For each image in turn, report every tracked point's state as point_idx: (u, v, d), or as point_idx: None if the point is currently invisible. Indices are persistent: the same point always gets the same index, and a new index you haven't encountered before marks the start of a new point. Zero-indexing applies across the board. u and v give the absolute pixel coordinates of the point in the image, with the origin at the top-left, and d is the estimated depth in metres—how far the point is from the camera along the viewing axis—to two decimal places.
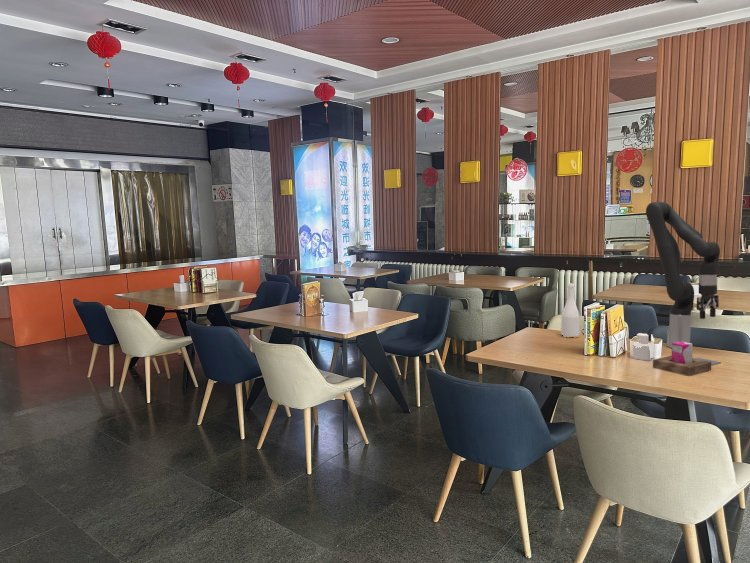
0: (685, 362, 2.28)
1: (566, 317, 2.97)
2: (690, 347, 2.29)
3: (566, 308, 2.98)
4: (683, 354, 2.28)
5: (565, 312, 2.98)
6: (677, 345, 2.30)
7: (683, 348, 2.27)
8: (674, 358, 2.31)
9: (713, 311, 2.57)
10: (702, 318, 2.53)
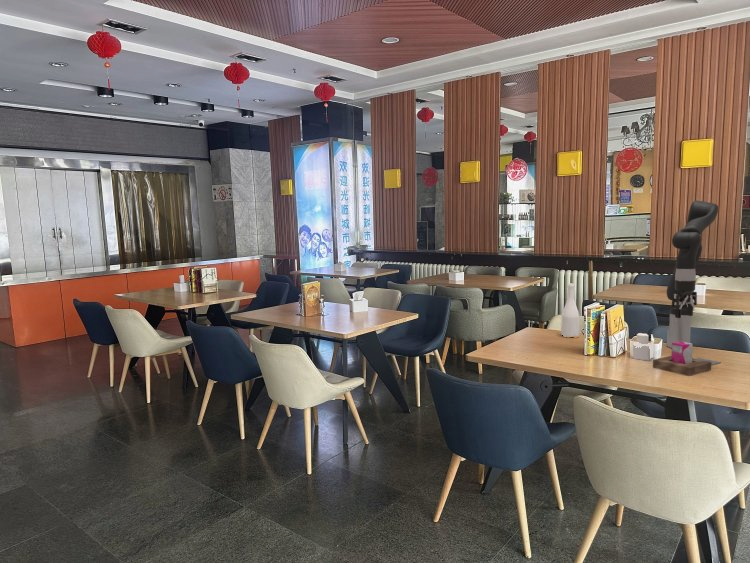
0: (685, 362, 2.28)
1: (566, 317, 2.97)
2: (690, 347, 2.29)
3: (566, 308, 2.98)
4: (683, 354, 2.28)
5: (565, 312, 2.98)
6: (677, 345, 2.30)
7: (683, 348, 2.27)
8: (674, 358, 2.31)
9: (690, 309, 2.30)
10: (677, 317, 2.27)
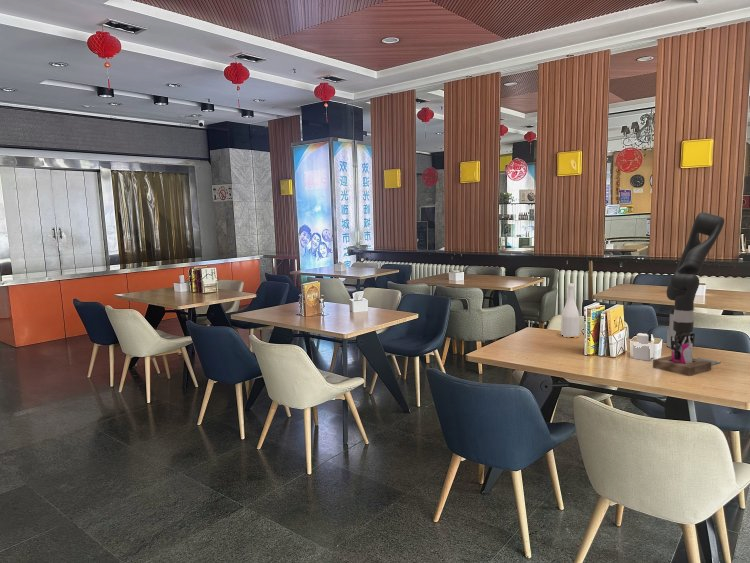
0: (685, 362, 2.28)
1: (566, 317, 2.97)
2: (690, 347, 2.29)
3: (566, 308, 2.98)
4: (683, 353, 2.28)
5: (565, 312, 2.98)
6: None
7: (683, 348, 2.27)
8: (674, 358, 2.31)
9: None
10: (677, 359, 2.29)
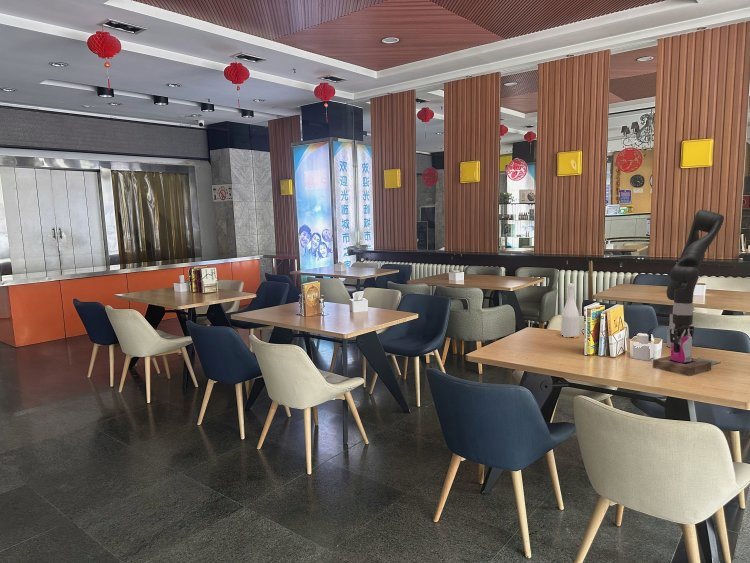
0: (684, 355, 2.28)
1: (566, 317, 2.97)
2: (690, 340, 2.28)
3: (566, 308, 2.98)
4: (682, 346, 2.27)
5: (565, 312, 2.98)
6: None
7: (682, 340, 2.27)
8: (673, 351, 2.31)
9: None
10: (676, 352, 2.29)
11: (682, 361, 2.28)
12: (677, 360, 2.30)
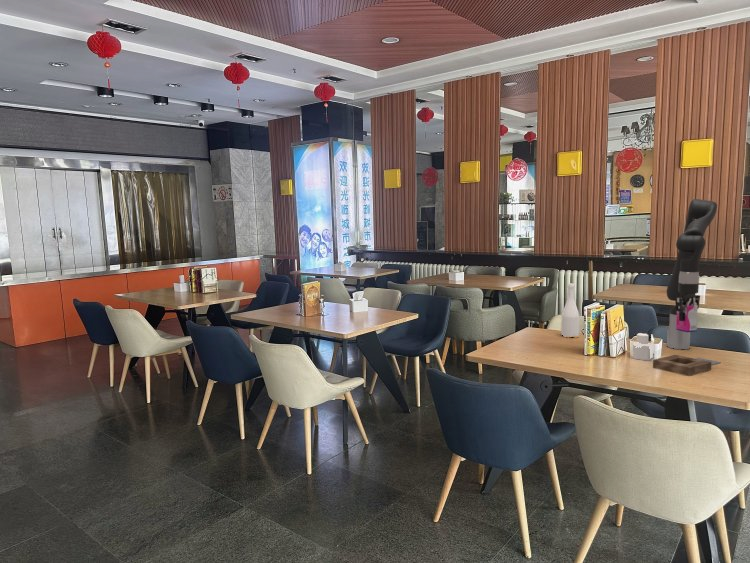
0: (690, 323, 2.30)
1: (566, 317, 2.97)
2: (695, 308, 2.30)
3: (566, 308, 2.98)
4: (688, 315, 2.29)
5: (565, 312, 2.98)
6: None
7: (688, 309, 2.29)
8: None
9: None
10: (681, 320, 2.31)
11: (688, 329, 2.30)
12: (682, 329, 2.31)
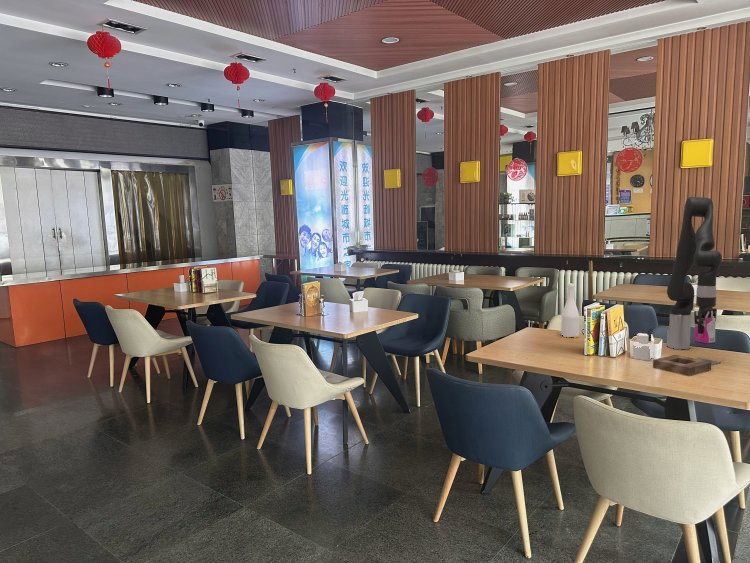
0: (708, 336, 2.37)
1: (566, 317, 2.97)
2: (713, 321, 2.37)
3: (566, 308, 2.98)
4: (706, 327, 2.36)
5: (565, 312, 2.98)
6: None
7: (706, 322, 2.36)
8: (697, 332, 2.40)
9: None
10: (700, 333, 2.38)
11: (707, 341, 2.37)
12: (701, 341, 2.38)
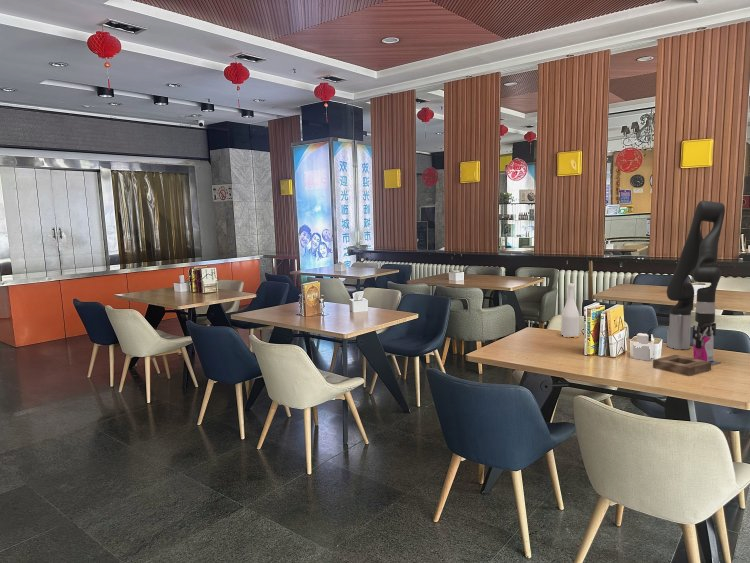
0: (707, 354, 2.38)
1: (566, 317, 2.97)
2: (711, 340, 2.38)
3: (566, 308, 2.98)
4: (705, 346, 2.37)
5: (565, 312, 2.98)
6: None
7: (705, 341, 2.37)
8: (696, 351, 2.41)
9: None
10: (698, 348, 2.38)
11: (705, 360, 2.38)
12: None
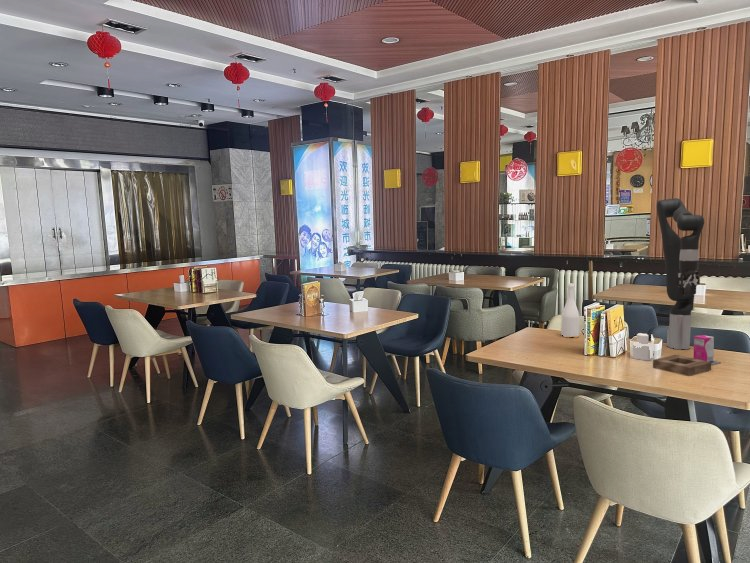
0: (707, 355, 2.38)
1: (566, 317, 2.97)
2: (712, 340, 2.38)
3: (566, 308, 2.98)
4: (705, 346, 2.37)
5: (565, 312, 2.98)
6: (699, 338, 2.39)
7: (705, 341, 2.37)
8: (696, 351, 2.41)
9: (694, 288, 2.44)
10: (682, 295, 2.41)
11: (705, 360, 2.38)
12: None
